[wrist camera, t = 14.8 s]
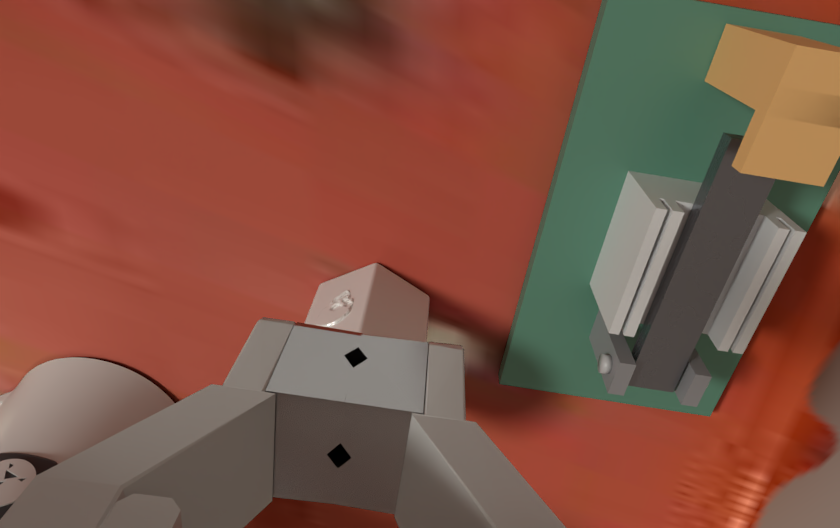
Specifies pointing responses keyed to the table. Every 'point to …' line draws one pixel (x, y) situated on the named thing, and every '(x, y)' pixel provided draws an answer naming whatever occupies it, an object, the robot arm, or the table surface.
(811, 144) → the tan wooden block
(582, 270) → the board
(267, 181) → the table surface
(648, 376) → the dark grey flat bar
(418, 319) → the jar
